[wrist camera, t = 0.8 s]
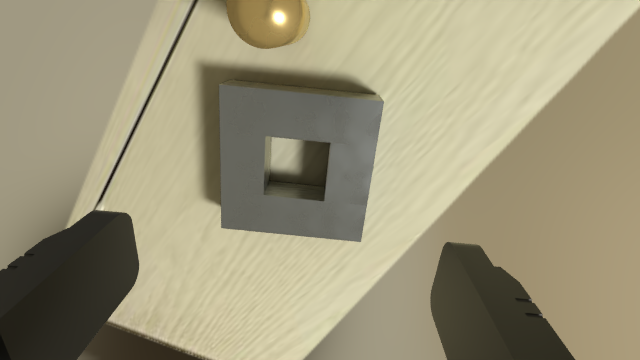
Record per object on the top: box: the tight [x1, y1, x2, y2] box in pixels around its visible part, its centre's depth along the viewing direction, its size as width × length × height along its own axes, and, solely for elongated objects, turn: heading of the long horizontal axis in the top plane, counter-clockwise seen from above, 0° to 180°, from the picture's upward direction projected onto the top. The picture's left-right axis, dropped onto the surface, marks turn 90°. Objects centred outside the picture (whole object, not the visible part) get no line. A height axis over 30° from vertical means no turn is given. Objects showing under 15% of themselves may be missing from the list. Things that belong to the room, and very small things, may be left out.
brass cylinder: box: [226, 0, 310, 49], centre depth 22 cm, size 4×4×8 cm
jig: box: [219, 80, 384, 242], centre depth 29 cm, size 12×12×3 cm
